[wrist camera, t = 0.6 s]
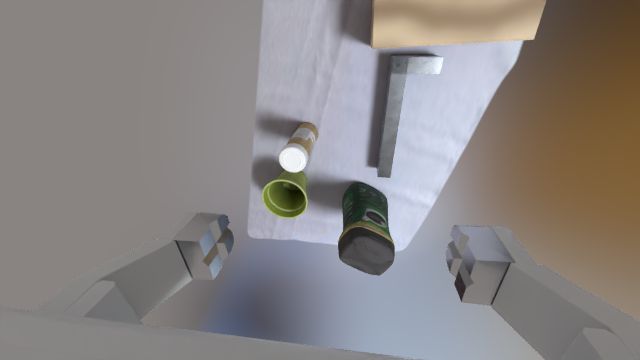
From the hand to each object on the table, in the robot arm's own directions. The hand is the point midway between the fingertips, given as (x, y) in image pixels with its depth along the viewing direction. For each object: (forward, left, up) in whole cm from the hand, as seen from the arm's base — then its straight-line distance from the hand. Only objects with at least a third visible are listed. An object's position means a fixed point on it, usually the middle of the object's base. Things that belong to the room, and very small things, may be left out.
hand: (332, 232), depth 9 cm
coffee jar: (+26, +2, -42) cm, 49 cm away
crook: (+8, +9, -41) cm, 43 cm away
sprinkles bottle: (+10, -10, -42) cm, 44 cm away
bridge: (-8, +12, -41) cm, 44 cm away
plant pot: (+21, -14, -42) cm, 49 cm away
